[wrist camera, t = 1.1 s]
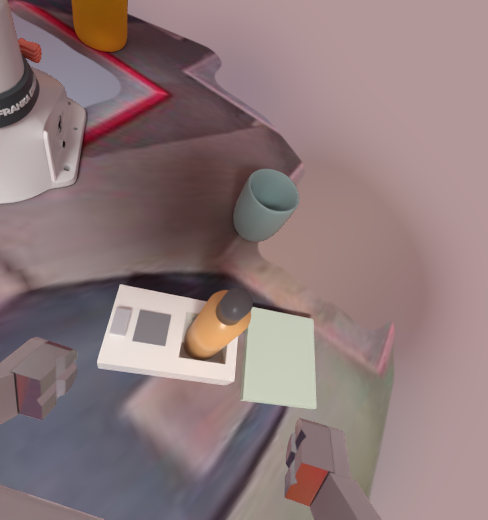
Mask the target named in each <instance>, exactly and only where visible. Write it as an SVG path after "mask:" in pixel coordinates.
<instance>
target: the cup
mask: <svg viewBox="0 0 488 520" xmlns="http://www.w3.org/2000/svg"><path fill="white" fill-rule="evenodd" d="M298 204H299V193H298V190H297V188H296V186H295V184H294V183H293V181H292V180H291V179H290V178H289V177H288V176H286V175H285V174H283V173H282V172H279V171H277V170H273V169H260V170H257V171H254V172H253V173H252V174H251V175H250V176H249V178H248V180H247V181H246V183H245V185H244V187H243V189H242V191H241V193H240V195H239V197H238V199H237V202H236V205H235V208H234V212H233V224H234V227H235V229H236V231H237V233H238V234H239V235H240V236H241V237H242V238H243V239H245V240H248V241H252V242H259V241H264V240H266V239H268V238H270V237H271V236H273V235H274V234H275V233H276V232H277V231H278V230H279V229H280V228H281V227H282V226H283V225H284V223H285V222H286V221H287V220H288V219H289V218H290V216H291V215H292V214H293V212H294V211H295V210H296V208H297V206H298Z"/></svg>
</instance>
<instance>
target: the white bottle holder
mask: <svg viewBox="0 0 488 520" xmlns="http://www.w3.org/2000/svg"><path fill="white" fill-rule="evenodd" d="M206 303H207V301H202V300H197V299H192V298H187V297H182V296H177V295H172V294H166V293H161V292H156V291H151V290H146V289H141V288H136V287H131V286H126V285H121V284H120V286H119V290H118V293H117V296H116V300H115V303H114V307H113V310H112V313H111V317H110V320H109V323H108V327H107V330H106V333H105V337H104V340H103V343H102V347H101V350H100V353H99V357H98V360H97V365H98V368H100V369H108V370H115V371H123V372H130V373H138V374H145V375H152V376H160V377H167V378H175V379H182V380H190V381H197V382H205V383H212V384H220V385H227V384H230V383H232V382H234V378H235V366H236V355H237V343H238V336H237V337H236V338H235V339H234V340H232V341H231V342H230V343H229V344H227V345H226V346H225V347H224V348H222V349H221V350H220V351H219V352H217V353H216V354H215V355H214V356H213V357H211V358H210V359H208V360H204V361H200V360H195V359H193V358H191V357H190V356H189V355H188V354H187V353H186V351H185V349H184V345H183V339H184V336H185V334H186V332H187V331H188V329H189V328H190V326H191V325H192V323H193V322H194V320H195V319H196V317H197V316H198V315H199V313H200V312H201V310H202V309H203V307H204V306H205V304H206Z"/></svg>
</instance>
